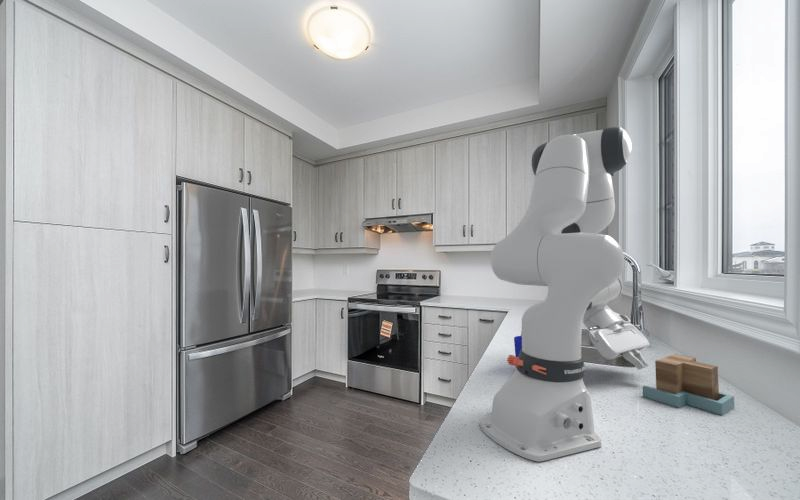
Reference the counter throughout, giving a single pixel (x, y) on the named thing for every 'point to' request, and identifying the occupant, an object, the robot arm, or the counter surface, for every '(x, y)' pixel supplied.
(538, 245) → the robot arm
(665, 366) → the t block
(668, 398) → the t pocket
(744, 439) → the counter surface
